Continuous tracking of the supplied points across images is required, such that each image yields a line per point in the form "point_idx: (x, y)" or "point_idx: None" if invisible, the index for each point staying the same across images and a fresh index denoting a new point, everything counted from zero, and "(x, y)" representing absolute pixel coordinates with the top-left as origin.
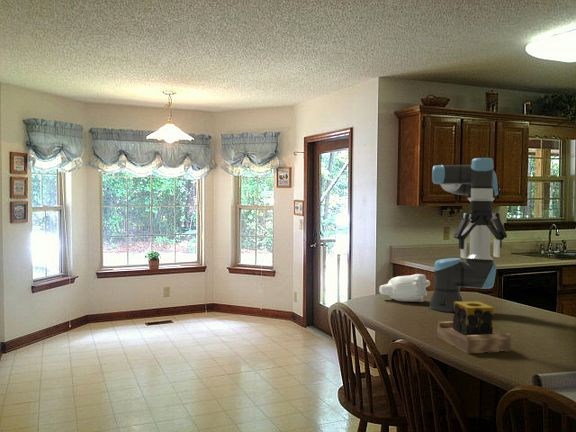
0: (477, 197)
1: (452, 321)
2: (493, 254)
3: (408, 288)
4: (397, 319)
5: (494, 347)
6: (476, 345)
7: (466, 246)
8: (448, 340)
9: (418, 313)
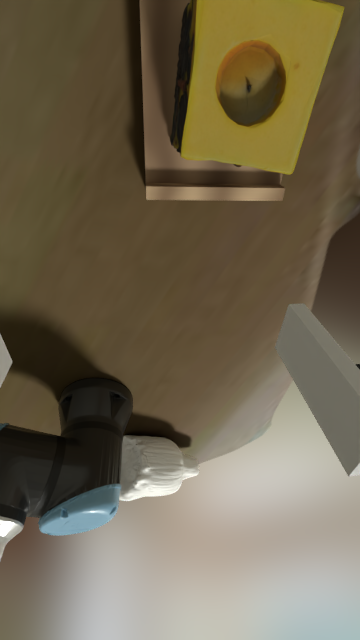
0: None
1: (235, 198)
2: (6, 372)
3: (159, 458)
4: (251, 340)
5: None
6: None
7: (341, 375)
8: None
9: (178, 374)
